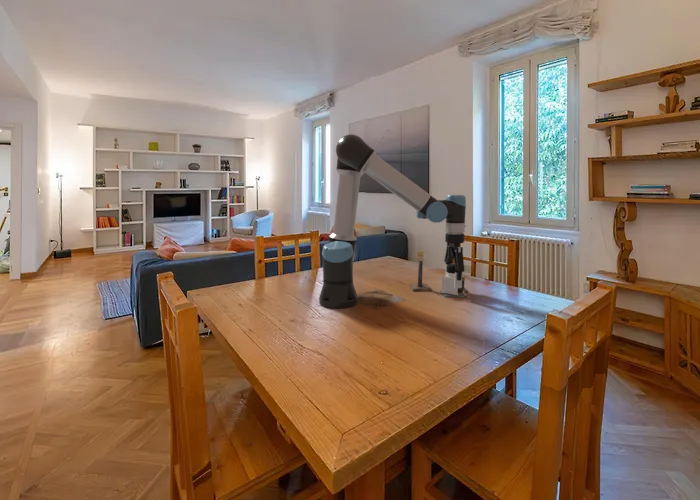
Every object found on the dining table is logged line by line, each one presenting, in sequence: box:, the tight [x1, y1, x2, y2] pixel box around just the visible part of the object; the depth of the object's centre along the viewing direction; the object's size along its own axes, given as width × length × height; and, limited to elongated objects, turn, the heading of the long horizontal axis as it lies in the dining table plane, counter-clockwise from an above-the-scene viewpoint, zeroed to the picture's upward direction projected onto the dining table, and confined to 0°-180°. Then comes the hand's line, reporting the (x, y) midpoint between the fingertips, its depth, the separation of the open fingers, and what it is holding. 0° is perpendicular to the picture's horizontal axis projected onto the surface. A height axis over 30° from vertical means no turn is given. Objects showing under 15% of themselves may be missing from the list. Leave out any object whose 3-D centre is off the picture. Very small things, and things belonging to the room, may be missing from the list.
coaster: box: [439, 289, 468, 298], centre depth 160 cm, size 9×9×1 cm
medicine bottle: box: [441, 263, 466, 295], centre depth 159 cm, size 7×7×12 cm
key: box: [416, 250, 427, 262], centre depth 170 cm, size 15×3×4 cm, turn 162°
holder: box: [409, 261, 469, 293], centre depth 168 cm, size 23×14×12 cm, turn 91°
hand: (453, 283), depth 159 cm, fingers open, 13 cm apart
